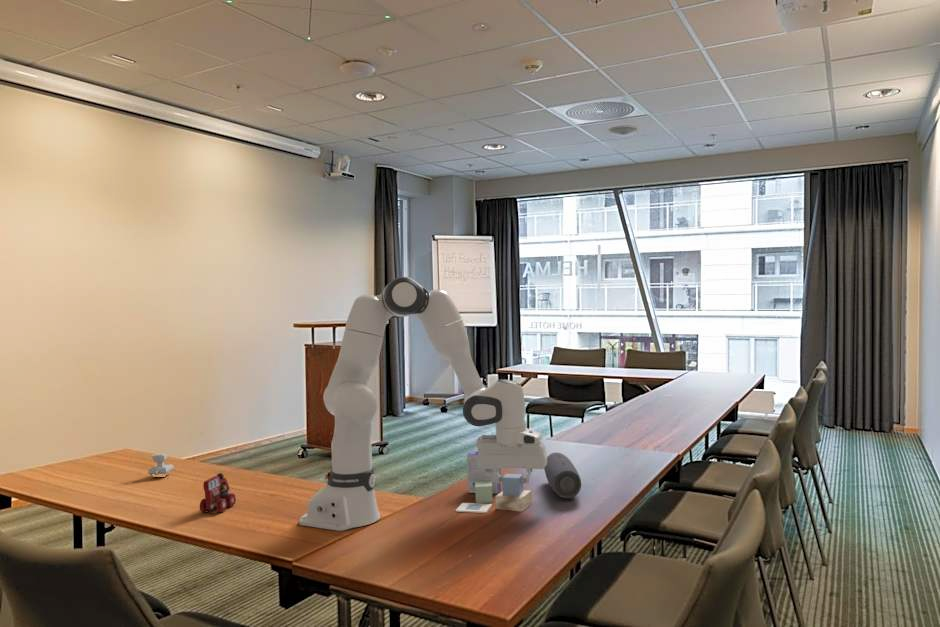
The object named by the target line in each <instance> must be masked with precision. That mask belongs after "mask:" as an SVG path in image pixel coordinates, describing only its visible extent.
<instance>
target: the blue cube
mask: <svg viewBox="0 0 940 627" xmlns="http://www.w3.org/2000/svg"><path fill="white" fill-rule="evenodd" d="M523 477H524V475H523V473H522V474H521V473H520V474H519V473H505V474H504V475H503V478H502V483H501V490H502V491H503V496H520V495H521V494H522V492H523V490H524V484H523Z"/></svg>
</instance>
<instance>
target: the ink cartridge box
mask: <svg viewBox="0 0 940 627" xmlns="http://www.w3.org/2000/svg"><path fill="white" fill-rule="evenodd" d="M478 450H479V449H478V448H477V451H470V452H468V453H467V455H466V467H467V468H466V470H467V492H468V493H471V494H475V482H489V481H492V494H494V495H495V494H497V495H498V494H499V492H500V491H502V483H497V477H496V475H495V474H494V472H493V468H487V467H480V466H479V465H478ZM501 469H502V468H499V470H498V472H499V474H500V476H502V474H501V473H502V472H501Z"/></svg>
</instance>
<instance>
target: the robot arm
mask: <svg viewBox="0 0 940 627" xmlns="http://www.w3.org/2000/svg"><path fill="white" fill-rule="evenodd" d="M409 316H415V317H417V318H418V319H419V320H420V322H421V324H422V325H423V327H424V330H425V333H426V334H427V337H428V339H429V341H430V343H431V345H432V346H433V349H434V350H435V351H436V352H437V354H438V355H439V356H440V357H442V358H443V359H445V361H447V362H448V364H450V366H451V367H452V369H453V370H454V373H455V375H456V378H457V379H458V381H459V382H458V383H459V384H460V387H461V388H462V392H463V405H462V406H463V407H462V416H463V418H464V420H465V421H466V422H467V423H469V424H470V425H471V426H474V427H484V426H489V425H494V424H495V434H494V435H493V434H489V435H486V434H483V435H481V436H478V438H477V439H476V447H477V452H478V465H479V466H480V467H487V468H493V472H494V474H495V475H496V477H497V483H501V484H502V478H503V477H504V475H501V476H500V474H499V472H498V470H499V468H501V469H502V468H503V469H525V471H526V473H527V474H526V475H525V476H524V475H523V485H529V483H530V481H529V480H530V479H529V478H530V476H531V473H532V472H533V470H544V468H545V467H546V465H547V457H548V455H547V449H546V445H545V444H544V442H543V441H542V438H543V434H542V433H541V432H539V431H536V430H533V429H530V428H528V427H527V424H526V420H525V413H526V402H525V401H526V400H525V393H524V392H525V391H524V388H523V386H522V384H520V383H519V382H517V381H515V380H513V379H511V380H510V379H497V380H496V381H495V382H494V383H492V384H490V385H489V386H488V387H487V386H486V385H485V384H484V382H483V381H482V379H481V377H480V374H479V372H478V370H477V367H476V365H475V363H474V360H473V358H472V356H471V355H472V354H471V349H470V341H469V337H468V336H469V335H468V333H467V332H468V331H467V329H466V326H465V323H464V320H463V319H462V316H461V314H460V312H459V310H458V307H457V306H456V305H455V303H454V301H453V299H452V298H451V297H450V295H449V293H448V292H447V291H445V290H443V289H431V290H427V288H425V287H424V286H422V285H421V284H420V283H418V282H417V281H416V280H414V279H413V278H411V277H407V276H399V277H396V278H394V279H392V280H391V281H390V282H388V283H387V284H386V286H385V287H384V289H383V290H382V292H381V293H380V294H379V295H372V294H364V295H360V296H358V297H356V299H354V302H353V304H352V306H351V309H350V311H349V314H348V317H347V320H346V324H345V327H344V332H343V336H342V340H341V345H340V349H339V353H338V358H337V360H336V363H335V365H334V368H333V370H332V373H331V375H330V378H329V381H328V384H327V386H326V388H325V389H324V393H323V403H324V406H325V408H326V410H327V411H328V412H329V413H330V414H331V415H332V416H334V429H333V437H332V440H331V443H330V444H331V447H330V448H331V466H332V468H331V470H330V471H328V472H327V473H326V474H324V478H323V479H324V480H327V483H326V484H325V485H324V486H323V487H322V488H320V489H319V490H318V491H317V492H316V493H315V494H314V495H313V496H312V497H311V498H310V500H309V501H308V504H307V512H306V513H304V514H303V515H302V516H301V517H300V518H299V522H298V524H299V525H300V526H304V527H305V526H306V527H312V528H317V529H325V530H332V531H337V532H339V531H341V532H342V531H346V530H349V529H354V528H358V527H363V526H367V525H368V526H369V525H371V524H373V523H375V522H378V520H380V518H381V513H380V511H379V507H378V503H377V499H376V494H375V493H376V492H375V486H376V485H375V484H376V483H375V481H376V478H375V469H374V466H373V453H372V436H373V429H374V428H373V427H374V423H375V422H374V420H375V415H376V413H377V411H378V410H377V409H378V399H377V397H376V395H375V393H374V392H373V391H372V390H371V388H370V387H368V383H369V381H370V378H371V377H372V374H373V373H374V370H375V368H376V367H377V365H378V364H379V359H380V356H381V355H380V354H381V350H382V346H383V340H384V334H385V330H386V328H387V327H386V326H387V323H388V322H389V321H390V319H395V318H405V317H409ZM478 449H479V450H478Z"/></svg>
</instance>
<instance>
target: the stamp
mask: <svg viewBox="0 0 940 627" xmlns="http://www.w3.org/2000/svg"><path fill="white" fill-rule="evenodd" d="M151 459H152V460H153V462H155V463H156V465H154V466H152V467H150V468H149V469H148V472H147V474H148V475H149V476H151V475H152V474H155V475H158V474H167V473H168V472H170V471H171V470H172V471H173V469H174V468H175V466H174V464H172V463H168V464H165V461H166V460H168V452H167V453H166V452H163V453H155V454H153V455H151ZM172 471H171V472H172Z"/></svg>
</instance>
